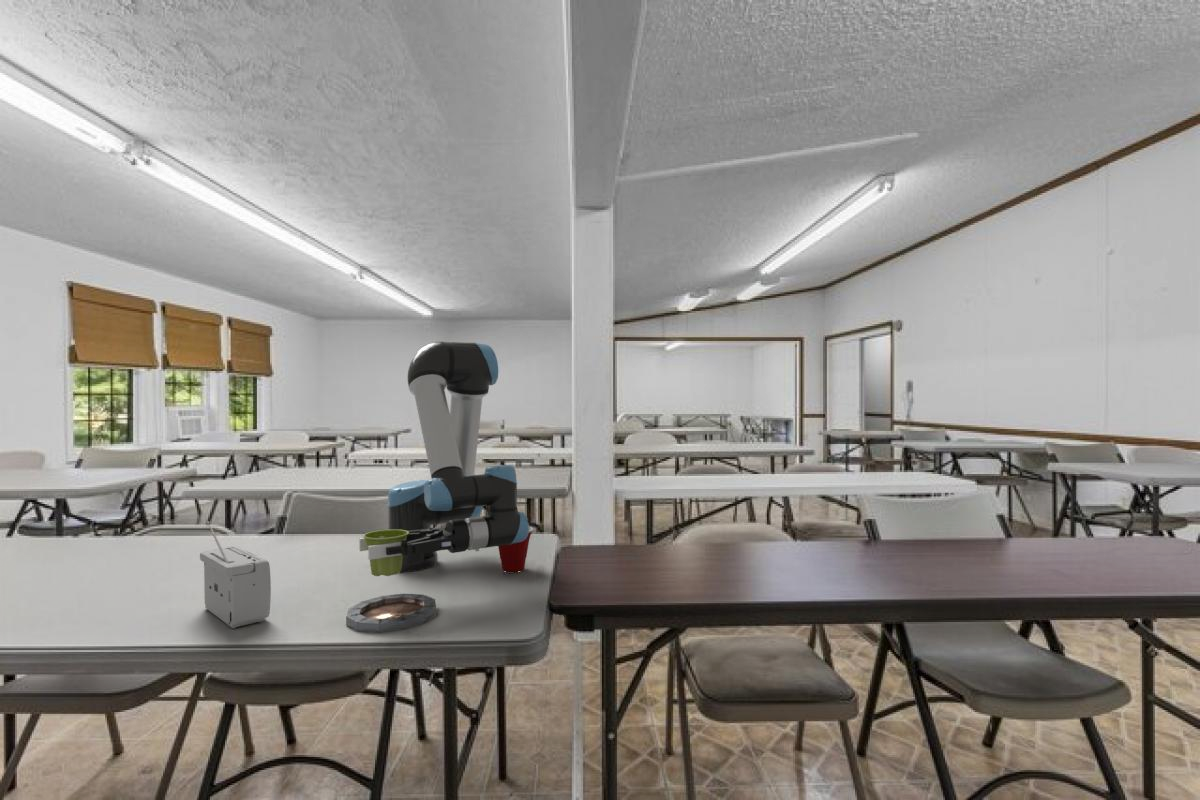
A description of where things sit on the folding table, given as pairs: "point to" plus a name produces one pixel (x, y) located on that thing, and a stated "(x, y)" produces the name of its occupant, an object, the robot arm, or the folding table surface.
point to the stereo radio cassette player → (236, 585)
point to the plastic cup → (514, 555)
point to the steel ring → (391, 613)
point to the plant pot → (386, 564)
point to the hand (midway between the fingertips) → (364, 548)
